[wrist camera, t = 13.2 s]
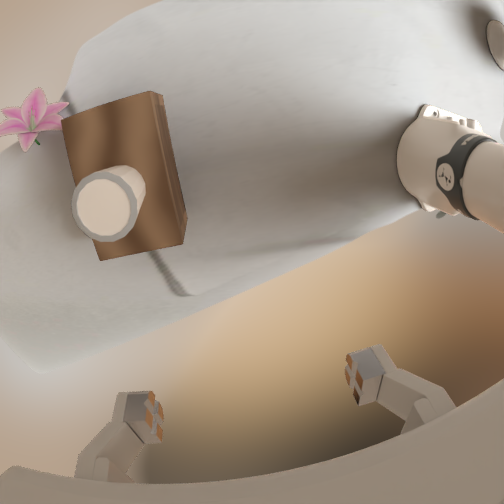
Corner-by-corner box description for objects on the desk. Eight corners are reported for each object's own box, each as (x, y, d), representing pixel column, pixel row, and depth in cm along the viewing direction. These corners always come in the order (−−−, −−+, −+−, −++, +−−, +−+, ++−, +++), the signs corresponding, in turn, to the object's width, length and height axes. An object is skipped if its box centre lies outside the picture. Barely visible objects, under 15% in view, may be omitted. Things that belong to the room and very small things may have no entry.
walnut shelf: (162, 95, 35) (149, 90, 27) (187, 218, 44) (182, 244, 35) (88, 117, 35) (60, 120, 27) (118, 233, 43) (100, 261, 35)
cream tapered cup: (85, 198, 31) (60, 219, 25) (112, 148, 29) (89, 157, 23) (132, 228, 34) (117, 255, 28) (162, 180, 32) (151, 197, 26)
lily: (92, 137, 37) (76, 105, 28) (32, 190, 34) (1, 170, 25) (59, 90, 36) (42, 56, 27) (4, 137, 33) (-24, 112, 24)
